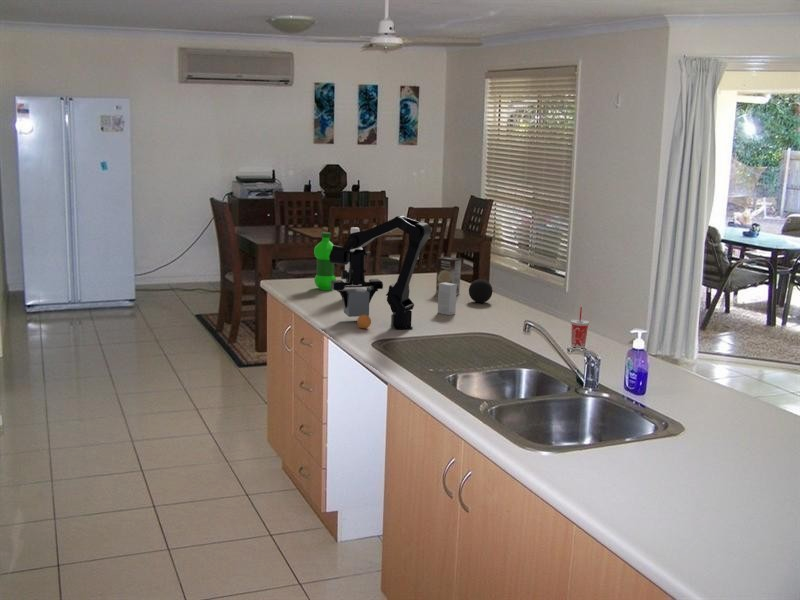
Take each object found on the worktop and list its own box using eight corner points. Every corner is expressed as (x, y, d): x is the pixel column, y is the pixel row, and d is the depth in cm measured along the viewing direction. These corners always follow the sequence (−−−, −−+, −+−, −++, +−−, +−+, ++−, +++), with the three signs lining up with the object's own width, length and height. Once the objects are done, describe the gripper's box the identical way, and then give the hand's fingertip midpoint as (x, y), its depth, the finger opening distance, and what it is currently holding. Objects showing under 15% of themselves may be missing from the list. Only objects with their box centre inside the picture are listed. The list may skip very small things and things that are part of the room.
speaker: (486, 299, 367) (487, 276, 365) (495, 304, 357) (497, 281, 355) (464, 300, 363) (465, 277, 361) (473, 305, 354) (474, 281, 352)
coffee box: (435, 293, 377) (436, 257, 373) (442, 291, 382) (443, 256, 379) (453, 296, 372) (454, 260, 369) (460, 294, 377) (461, 258, 374)
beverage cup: (565, 345, 292) (568, 305, 290) (580, 344, 295) (583, 304, 292) (575, 349, 287) (578, 309, 284) (590, 348, 289) (594, 308, 286)
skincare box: (455, 314, 336) (457, 284, 334) (448, 315, 333) (450, 285, 331) (444, 311, 340) (445, 281, 338) (437, 312, 337) (438, 283, 335)
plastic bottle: (316, 286, 385) (316, 231, 380) (339, 287, 383) (340, 232, 378) (310, 290, 375) (311, 233, 370) (334, 291, 373) (335, 234, 368)
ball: (368, 326, 310) (369, 313, 309) (372, 329, 306) (372, 316, 305) (355, 327, 309) (355, 313, 308) (359, 330, 304) (359, 316, 303)
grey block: (363, 311, 322) (363, 288, 320) (369, 315, 315) (369, 292, 313) (343, 312, 320) (344, 289, 318) (348, 316, 313) (349, 293, 311)
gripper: (375, 262, 324) (374, 302, 327) (327, 263, 318) (327, 304, 322) (383, 266, 314) (382, 308, 317) (334, 267, 308) (333, 310, 311)
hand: (356, 307), depth 317 cm, fingers closed on grey block, 8 cm apart
